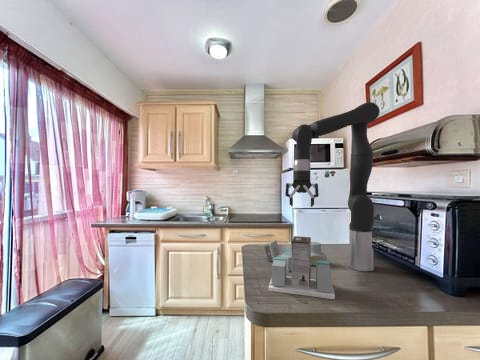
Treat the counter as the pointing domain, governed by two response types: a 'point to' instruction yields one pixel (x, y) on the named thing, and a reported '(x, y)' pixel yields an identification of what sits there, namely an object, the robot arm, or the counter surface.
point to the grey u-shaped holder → (284, 284)
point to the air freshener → (316, 253)
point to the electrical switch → (272, 250)
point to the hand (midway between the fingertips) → (301, 206)
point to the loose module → (289, 260)
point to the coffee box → (301, 261)
